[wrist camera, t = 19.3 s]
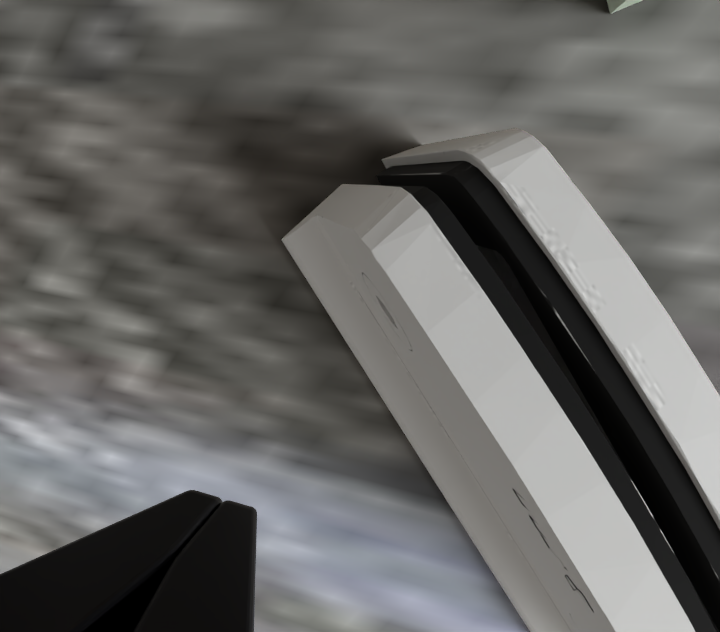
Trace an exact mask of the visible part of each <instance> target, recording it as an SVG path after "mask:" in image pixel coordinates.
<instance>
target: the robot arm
mask: <svg viewBox="0 0 720 632" xmlns="http://www.w3.org/2000/svg"><path fill="white" fill-rule="evenodd" d="M256 529H257V512H256V510H255V509H254V508H253V507H250V506H246V505H243V504H240V503H236V502H233V501H224V502H222V500H221V499H220V498H219V497H216V496H212V495H209V494H206V493H202V492H199V491H195V490H189V491H186V492H184V493H181V494H179V495H177V496H175V497H173V498H170V499H168V500H166V501H164V502H161V503H159V504H157V505H155V506H152V507H150V508H148V509H146V510H143V511H141V512H139V513H137V514H134V515H132V516H130V517H128V518H125V519H123V520H121V521H119V522H116V523H114V524H112V525H110V526H108V527H105V528H103V529H101V530H99V531H96V532H94V533H92V534H90V535H87V536H85V537H83V538H81V539H78V540H76V541H74V542H72V543H69V544H67V545H65V546H63V547H60V548H58V549H56V550H54V551H51V552H49V553H47V554H45V555H42V556H40V557H38V558H36V559H34V560H31V561H29V562H27V563H25V564H22V565H20V566H18V567H16V568H13V569H11V570H9V571H7V572H4V573H2V574H0V632H254V605H255V567H256Z"/></svg>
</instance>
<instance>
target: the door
mask: <svg viewBox="0 0 720 632" xmlns="http://www.w3.org/2000/svg"><path fill="white" fill-rule="evenodd" d="M640 1H642V0H607V4H608V7H609V11H610V14H611V13H614V12H616V11H618V10H621V9H623V8H626V7H628V6H630V5H633V4H635V3H638V2H640Z"/></svg>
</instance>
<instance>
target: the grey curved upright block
mask: <svg viewBox="0 0 720 632" xmlns="http://www.w3.org/2000/svg"><path fill="white" fill-rule="evenodd" d="M382 162H383V163H384V165H385V167H386V169H385V170H384V171H382V172H381V173H379V174H378V175H376V177H377V178H378V180H379V182H380V183H381V185H370V184H361V185H356V184H341V185H340V186H339V187H338V188H337V189H336V190H335V191H334V192H333V193H332V194H331V195H329V196H328V197H327V198H326V199H325V200H324V201H323V202H322V203H321V204H320V205H318V206H317V207H316V208H315V209H314V210H313V211H312V212H311V213H310V214H309V215H307V216H306V217H305V218H304V219H303V220H302V221H301V222H300V223H299V224H298V225H296V226H295V227H294V228H293V229H292V230H291V231H290V232H289V233H288V234H286V235H285V236H284V237H283V238H282V242H283V243H284V245H285V246H286V248H287V250H288V251H289V253H290V254H291V256H292V257H293V259H294V261H295V262H296V264H297V265H298V267H299V268H300V270H301V272H302V273H303V275H304V276H305V278H306V280H307V281H308V283H309V284H310V286H311V287H312V289H313V291H314V292H315V294H316V295H317V297H318V298H319V300H320V302H321V303H322V305H323V306H324V308H325V309H326V311H327V313H328V314H329V316H330V317H331V319H332V320H333V322H334V324H335V325H336V327H337V328H338V330H339V332H340V333H341V335H342V336H343V338H344V339H345V341H346V343H347V344H348V346H349V347H350V349H351V350H352V352H353V354H354V355H355V357H356V358H357V360H358V361H359V363H360V365H361V366H362V368H363V369H364V371H365V372H366V374H367V376H368V377H369V379H370V380H371V382H372V384H373V385H374V387H375V388H376V390H377V391H378V393H379V395H380V396H381V398H382V399H383V401H384V402H385V404H386V406H387V407H388V409H389V410H390V412H391V413H392V415H393V417H394V418H395V420H396V421H397V423H398V424H399V426H400V428H401V429H402V431H403V432H404V434H405V436H406V437H407V439H408V440H409V442H410V443H411V445H412V447H413V448H414V450H415V451H416V453H417V454H418V456H419V458H420V459H421V461H422V462H423V464H424V465H425V467H426V469H427V470H428V472H429V473H430V475H431V476H432V478H433V480H434V481H435V483H436V484H437V486H438V488H439V489H440V491H441V492H442V494H443V495H444V497H445V499H446V500H447V502H448V503H449V505H450V506H451V508H452V510H453V511H454V513H455V514H456V516H457V517H458V519H459V521H460V522H461V524H462V525H463V527H464V528H465V530H466V532H467V533H468V535H469V536H470V538H471V540H472V541H473V543H474V544H475V546H476V547H477V549H478V551H479V552H480V554H481V555H482V557H483V558H484V560H485V562H486V563H487V565H488V566H489V568H490V569H491V571H492V573H493V574H494V576H495V577H496V579H497V580H498V582H499V584H500V585H501V587H502V588H503V590H504V592H505V593H506V595H507V596H508V598H509V599H510V601H511V603H512V604H513V606H514V607H515V609H516V610H517V612H518V614H519V615H520V617H521V618H522V620H523V621H524V623H525V625H526V626H527V628H528V629H529V631H530V632H720V396H719V394H718V393H717V391H716V389H715V388H714V386H713V385H712V383H711V381H710V380H709V378H708V377H707V375H706V373H705V372H704V370H703V369H702V367H701V365H700V364H699V362H698V361H697V359H696V357H695V356H694V354H693V353H692V351H691V350H690V348H689V346H688V345H687V343H686V342H685V340H684V338H683V337H682V335H681V334H680V332H679V330H678V329H677V327H676V326H675V324H674V322H673V321H672V319H671V318H670V316H669V315H668V313H667V312H666V310H665V309H664V307H663V306H662V304H661V303H660V301H659V300H658V298H657V297H656V295H655V294H654V293H653V291H652V290H651V288H650V287H649V285H648V284H647V282H646V281H645V279H644V278H643V276H642V275H641V274H640V272H639V271H638V269H637V268H636V266H635V265H634V263H633V262H632V260H631V259H630V257H629V256H628V255H627V253H626V252H625V251H624V249H623V248H622V247H621V245H620V244H619V243H618V241H617V240H616V239H615V237H614V236H613V235H612V233H611V232H610V230H609V229H608V228H607V226H606V225H605V224H604V222H603V221H602V220H601V218H600V217H599V216H598V214H597V213H596V212H595V210H594V209H593V208H592V206H591V205H590V204H589V202H588V201H587V200H586V198H585V197H584V196H583V194H582V193H581V192H580V191H579V189H578V188H577V187H576V185H575V184H574V183H573V182H572V180H571V179H570V178H569V176H568V175H567V174H566V173H565V171H564V170H563V169H562V167H561V166H560V165H559V164H558V162H557V161H556V160H555V158H554V157H553V156H552V155H551V153H550V152H549V151H548V150H547V148H546V147H545V146H544V145H543V144H541V143H540V142H539V141H538V140H537V139H536V138H535V137H534V136H533V135H531V134H529V133H527V132H525V131H523V130H521V129H517V128H513V129H508V130H502V131H497V132H491V133H486V134H480V135H475V136H469V137H464V138H458V139H453V140H447V141H442V142H436V143H431V144H425V145H421V146H418V147H415V148H412V149H409V150H406V151H403V152H401V153H398V154H395V155H392V156H389V157H387V158H384V159H382Z"/></svg>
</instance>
